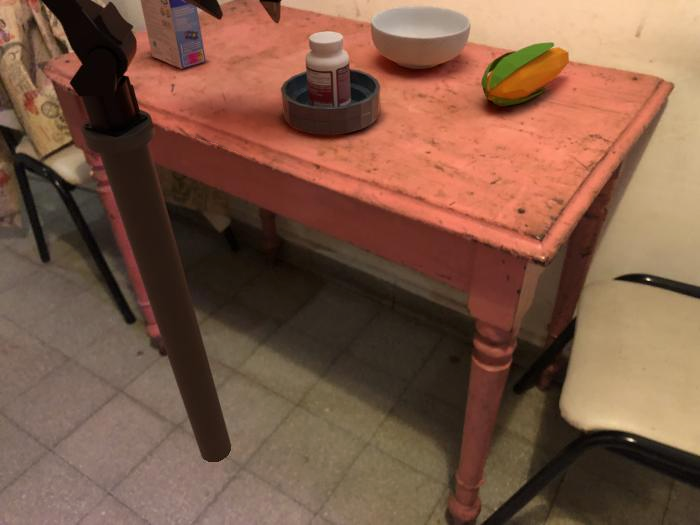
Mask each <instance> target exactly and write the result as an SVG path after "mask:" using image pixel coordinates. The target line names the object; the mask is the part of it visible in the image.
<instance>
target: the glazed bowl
mask: <svg viewBox="0 0 700 525" xmlns="http://www.w3.org/2000/svg"><path fill="white" fill-rule="evenodd" d="M350 92H351V104H349V105H345V106H335V107H317V106H311V105H309V96H308V85H307V73H306V71H302V72H301V73H297V74H295V75H292V76H290V77H289V78H288V79H287V80H285V81H284V82H283V83H282V85H281V87H280V95H281V104H282V113H283V118H284V121H285V122H286V123H287V124H288V125H289V126H290V127H292V128H294V129H296V130H298V131H300V132H305V133H309V134H312V135H331V136H333V135H341V134H342V135H343V134H348V133H352V132H356V131H359V130H363V129H364V128H366V127H368V126H371V125H372V124H373V123H374V122H375V121H376V120H377V119H378V118H379V115H380V112H381V84H380V82H379V81H378V79H377V78H376V77H374V76H373V75H371V74H370V73H368V72H364V71H362V70H360V69H353V68H350Z"/></svg>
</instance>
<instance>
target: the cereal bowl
mask: <svg viewBox="0 0 700 525" xmlns="http://www.w3.org/2000/svg"><path fill="white" fill-rule="evenodd" d="M470 33H471V19H470V18H469V16H467V15H465V14H464V13H462V12H460V11H458V10H454V9H450V8H447V7H439V6H433V5H402V6H396V7H390V8H386V9H384V10H381V11H379V12H377V13H376V14H374V15H373V16H372V18H371V22H370V35H371V40H372V44H373V46H374V47H375V49H376V50H377V52H378V53H379V54H380V55H382V56H383V57H384V58H386V59H388V60H390V62H391V61H392V62H395V63H396V64H397V65H399V66H401V67H403V68H406V69H409V70H410V69H411V70H426V69H431V68H434V67H438V65H440V64H444V63H447V62H449V61H451V60H452V59H455V58H456V57H457V56H458V55H460V54H461V53H462V52H463V50H464V49H465V47H466V46H467V43H468V41H469V37H470Z"/></svg>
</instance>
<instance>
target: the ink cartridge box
mask: <svg viewBox="0 0 700 525" xmlns="http://www.w3.org/2000/svg"><path fill="white" fill-rule="evenodd" d="M140 6H141V11H142V15H143V19H144V23H145V28H146V33H147V38H148V43H149V48H150V53H151V57H153V58H155V59H157V60H160V61H162V62H164V63H167V64H169V65H172V66H174V67H176V68H178V69H180V70H182V69H186V68H189V67H192V66H196V65H199V64H204V63H206V61H207V59H206V53H205V48H204V42H203V36H202V29H201V25H200V19H199V12H198V7H196V6H194V5H192V4H190V3H188V2H186V1H184V0H140Z"/></svg>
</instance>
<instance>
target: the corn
mask: <svg viewBox="0 0 700 525" xmlns="http://www.w3.org/2000/svg"><path fill="white" fill-rule="evenodd" d="M569 63H570V55H569V51H567V50H565V49H564V48H561V47H560V46H558V47H555V42H550V41H549V42H540V43H534V44H531V45H528V46H525V47H522V48H520V49H518V50H516V51H510V52H505V53H504V54H501V55H500V56H498V57H496V58H495V59H494V60H493V61H491V62H490V63H489V64H488V65H487V67H486V69H485V70H484V73H483V75H482V78H481V81H480V82H481V83H480V85H481V86H482V91H483V93H484V96H485V98H486V100H487V102H488V103H493V104H494V105H497V106H499V107H506V106H507V107H508V106H513V105H518V104H521V103H525V102H527V101H529V100H531V99H533V98H535V97H538V96H539V95H540V94H542V93H543V92H545V91H547V90H548V89H549V88H551V87H553V84H551V85H550V86H547V85H548V84H549V83H551V82H552V81H553V80H555V79H556V78H557V77H558V76H559V75H560V74H561V73H562V71H563V70H564V69H565V67H567V65H568V64H569ZM545 86H547V87H545Z"/></svg>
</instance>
